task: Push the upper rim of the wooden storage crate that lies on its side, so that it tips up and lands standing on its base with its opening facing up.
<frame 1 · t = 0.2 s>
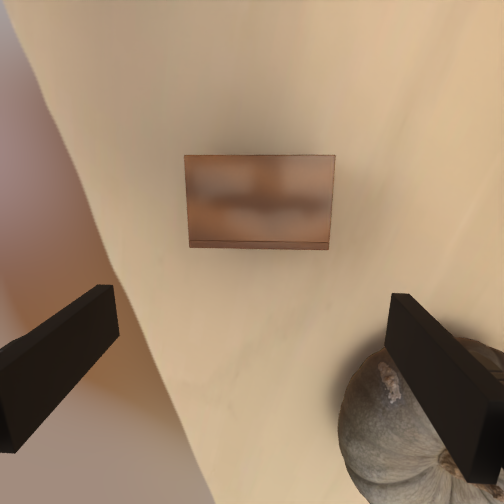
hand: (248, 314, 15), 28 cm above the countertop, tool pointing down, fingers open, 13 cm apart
wooden storage crate: (260, 233, 36), point 5 cm above the countertop
gourd: (410, 389, 47), on the countertop
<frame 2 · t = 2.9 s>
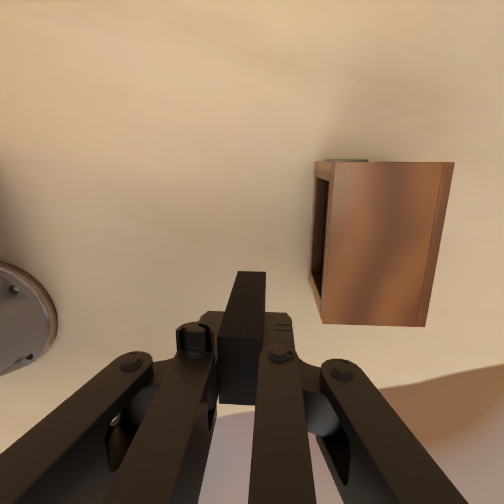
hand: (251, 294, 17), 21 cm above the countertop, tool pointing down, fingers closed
wooden storage crate: (406, 235, 31), point 5 cm above the countertop
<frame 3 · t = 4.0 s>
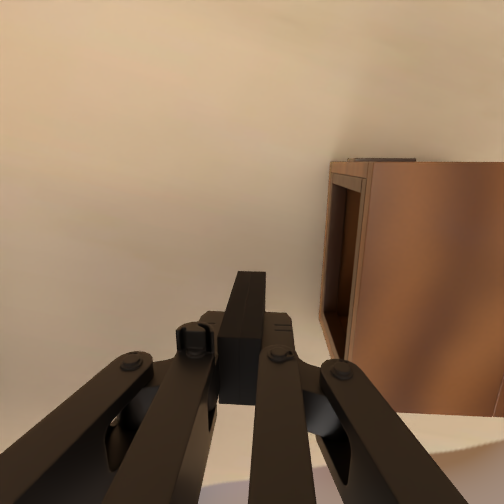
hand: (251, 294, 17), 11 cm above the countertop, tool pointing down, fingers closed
wooden storage crate: (465, 269, 21), point 5 cm above the countertop
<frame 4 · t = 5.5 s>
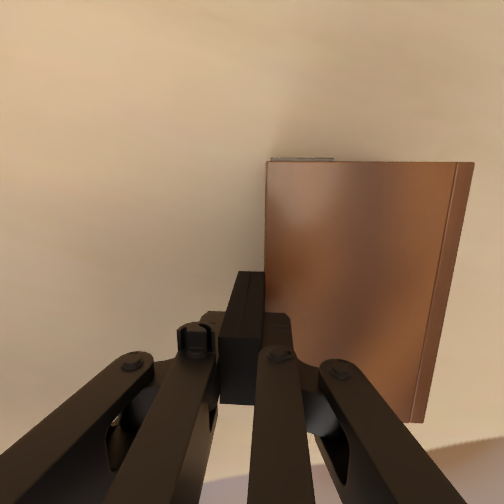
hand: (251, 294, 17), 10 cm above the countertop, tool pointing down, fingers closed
wooden storage crate: (393, 271, 21), point 5 cm above the countertop, touching gripper
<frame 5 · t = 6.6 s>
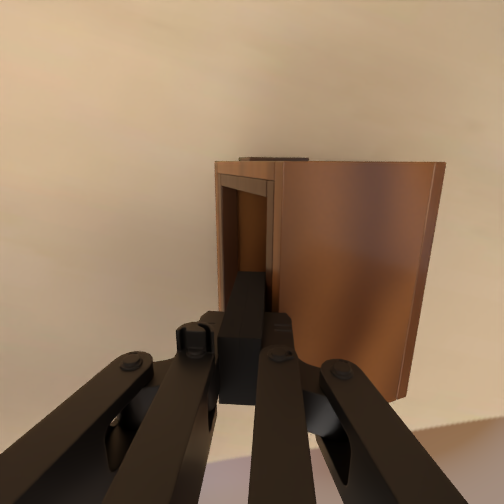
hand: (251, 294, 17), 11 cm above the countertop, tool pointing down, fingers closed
wooden storage crate: (354, 264, 22), point 5 cm above the countertop, tilted 24°, touching gripper
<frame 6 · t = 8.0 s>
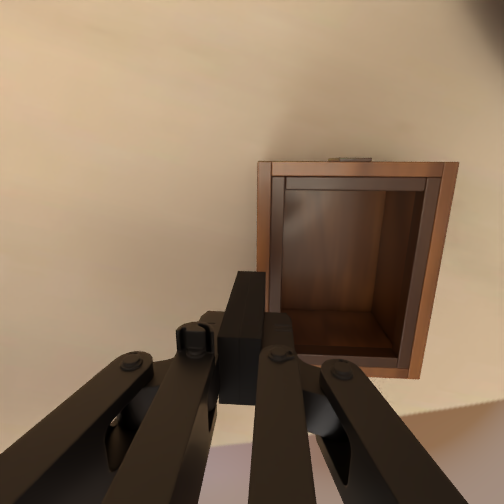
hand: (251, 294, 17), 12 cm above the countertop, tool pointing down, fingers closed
wooden storage crate: (323, 244, 27), on the countertop, tilted 90°
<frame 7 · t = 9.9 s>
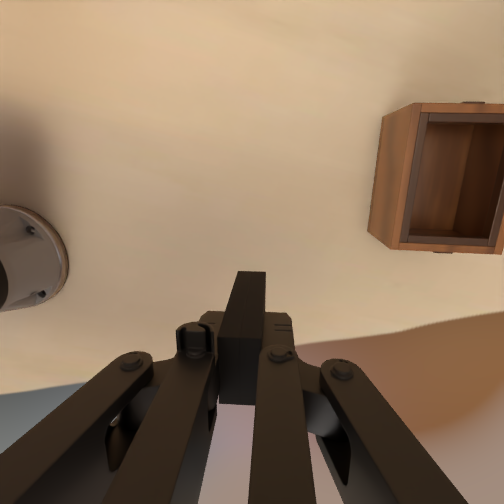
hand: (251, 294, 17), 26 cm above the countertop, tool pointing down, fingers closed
wooden storage crate: (421, 178, 38), on the countertop, tilted 90°
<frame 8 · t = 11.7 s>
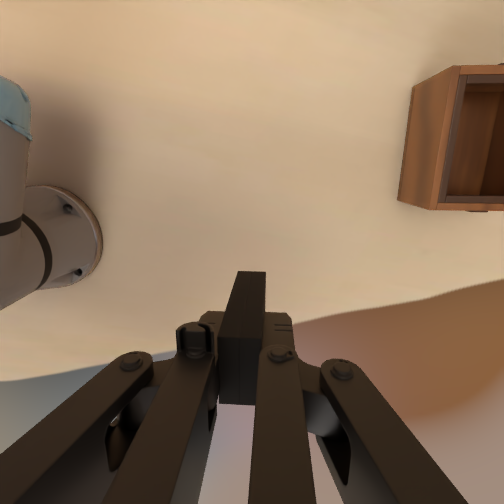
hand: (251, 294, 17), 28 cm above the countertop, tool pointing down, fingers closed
wooden storage crate: (449, 146, 40), on the countertop, tilted 90°
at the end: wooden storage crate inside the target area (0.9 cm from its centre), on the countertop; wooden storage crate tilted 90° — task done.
